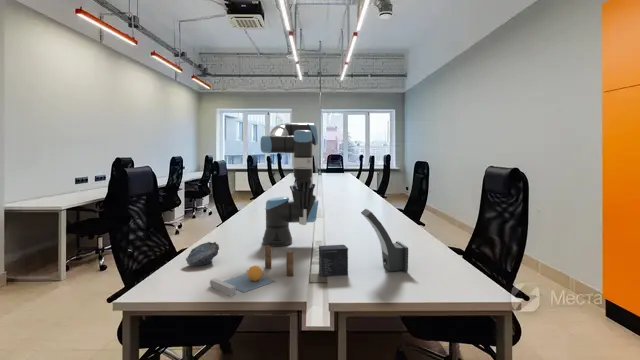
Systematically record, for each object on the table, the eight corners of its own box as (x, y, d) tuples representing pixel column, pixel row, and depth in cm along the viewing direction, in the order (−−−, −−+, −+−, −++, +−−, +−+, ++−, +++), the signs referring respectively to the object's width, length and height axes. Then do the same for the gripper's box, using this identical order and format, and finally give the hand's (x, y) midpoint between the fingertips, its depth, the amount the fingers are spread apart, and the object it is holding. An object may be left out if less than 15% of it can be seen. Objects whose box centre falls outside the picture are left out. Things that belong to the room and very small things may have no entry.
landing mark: (220, 282, 131) (220, 281, 131) (251, 272, 141) (251, 272, 141) (243, 292, 121) (243, 292, 121) (275, 281, 132) (275, 280, 132)
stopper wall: (210, 286, 127) (210, 279, 126) (215, 284, 128) (215, 278, 128) (230, 295, 119) (230, 288, 118) (235, 294, 120) (235, 286, 120)
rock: (226, 260, 157) (210, 251, 162) (223, 244, 153) (207, 237, 159) (197, 281, 146) (181, 271, 151) (193, 265, 142) (177, 256, 147)
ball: (250, 261, 134) (257, 270, 137) (241, 273, 131) (249, 282, 134) (261, 263, 131) (267, 273, 133) (251, 276, 127) (259, 285, 130)
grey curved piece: (358, 266, 150) (359, 207, 148) (398, 263, 152) (399, 206, 150) (366, 275, 139) (367, 212, 137) (408, 272, 142) (410, 211, 140)
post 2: (285, 275, 138) (284, 252, 137) (289, 273, 140) (289, 250, 139) (289, 276, 136) (289, 253, 136) (294, 275, 138) (294, 252, 138)
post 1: (263, 268, 146) (263, 246, 146) (268, 266, 148) (268, 244, 148) (267, 269, 145) (267, 247, 144) (272, 267, 147) (272, 246, 146)
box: (344, 269, 145) (344, 244, 144) (348, 275, 139) (348, 248, 138) (318, 271, 143) (318, 245, 142) (321, 276, 137) (321, 249, 136)
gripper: (298, 169, 142) (298, 228, 144) (320, 167, 152) (319, 223, 154) (285, 168, 147) (285, 225, 149) (307, 167, 157) (307, 220, 159)
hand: (302, 224), depth 152 cm, fingers closed
